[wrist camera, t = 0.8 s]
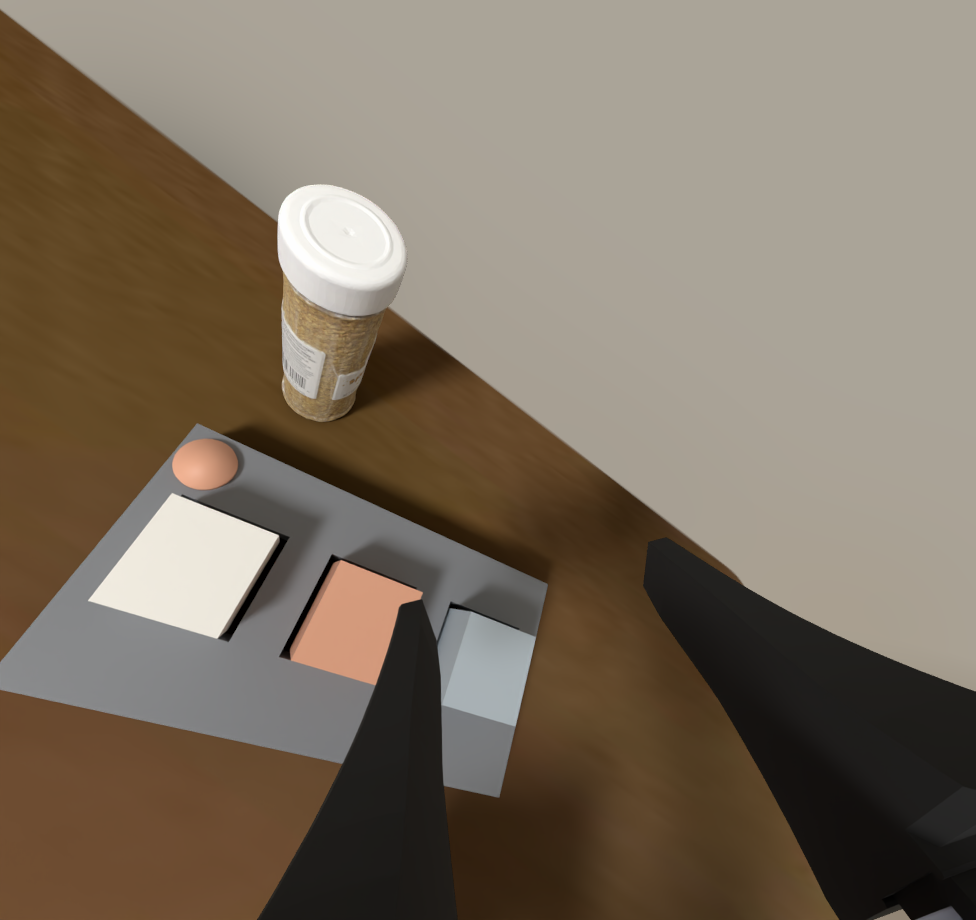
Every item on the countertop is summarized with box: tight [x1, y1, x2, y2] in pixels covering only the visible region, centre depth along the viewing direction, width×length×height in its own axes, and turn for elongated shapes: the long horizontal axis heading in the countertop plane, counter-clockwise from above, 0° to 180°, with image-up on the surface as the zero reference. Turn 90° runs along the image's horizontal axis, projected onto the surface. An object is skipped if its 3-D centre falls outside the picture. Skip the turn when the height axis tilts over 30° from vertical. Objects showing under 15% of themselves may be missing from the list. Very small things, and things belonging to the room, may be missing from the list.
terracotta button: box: [290, 560, 423, 685], centre depth 19 cm, size 4×4×3 cm
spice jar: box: [278, 184, 407, 422], centre depth 19 cm, size 5×5×13 cm
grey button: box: [437, 608, 536, 727], centre depth 21 cm, size 4×4×3 cm
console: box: [0, 424, 548, 798], centre depth 21 cm, size 12×23×3 cm, turn 69°
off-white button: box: [88, 493, 280, 639], centre depth 17 cm, size 4×4×3 cm
